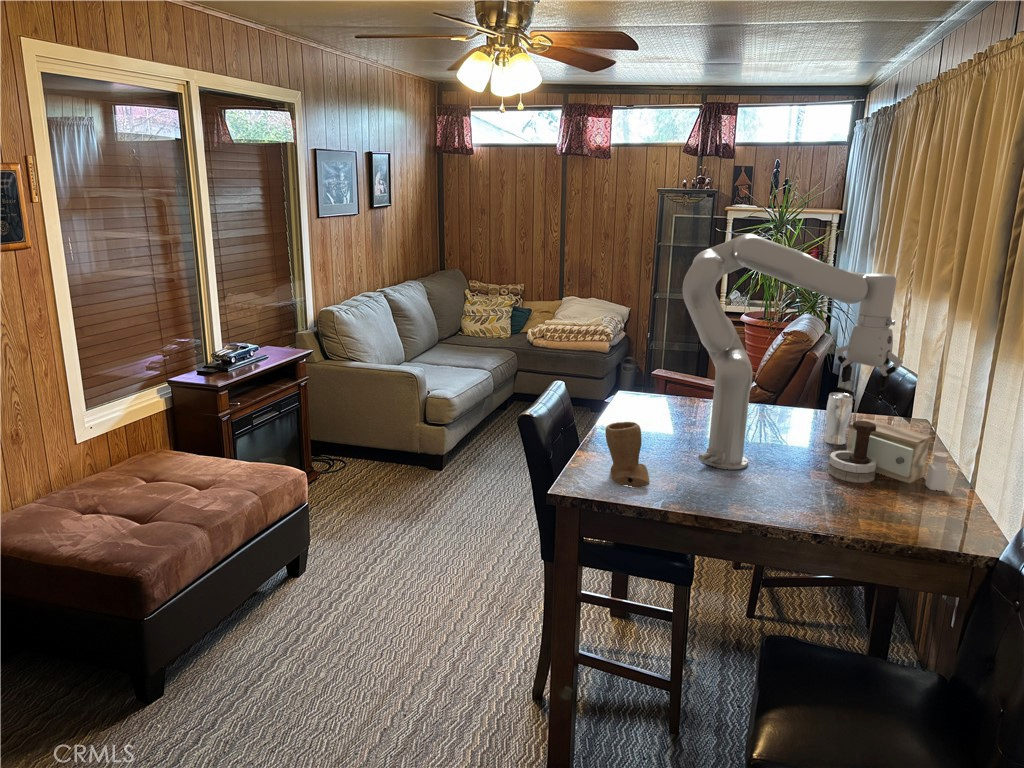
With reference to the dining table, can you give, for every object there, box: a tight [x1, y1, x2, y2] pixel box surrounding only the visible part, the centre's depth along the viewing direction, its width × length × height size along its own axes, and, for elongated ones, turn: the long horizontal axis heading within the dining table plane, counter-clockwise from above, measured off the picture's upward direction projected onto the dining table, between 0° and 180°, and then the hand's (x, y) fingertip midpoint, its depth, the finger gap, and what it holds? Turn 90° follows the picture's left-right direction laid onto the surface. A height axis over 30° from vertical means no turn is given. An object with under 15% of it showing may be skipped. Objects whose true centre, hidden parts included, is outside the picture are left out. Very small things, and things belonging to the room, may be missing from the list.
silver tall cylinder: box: [823, 392, 854, 446], centre depth 224 cm, size 7×7×15 cm
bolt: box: [849, 420, 876, 464], centre depth 197 cm, size 6×5×15 cm
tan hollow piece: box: [605, 421, 650, 488], centre depth 192 cm, size 15×12×15 cm
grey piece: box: [828, 431, 914, 477], centre depth 195 cm, size 12×18×8 cm, turn 30°
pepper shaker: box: [924, 452, 950, 492], centre depth 190 cm, size 4×4×10 cm
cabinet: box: [827, 418, 933, 484], centre depth 198 cm, size 21×19×12 cm
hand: (863, 385), depth 193 cm, fingers open, 9 cm apart
